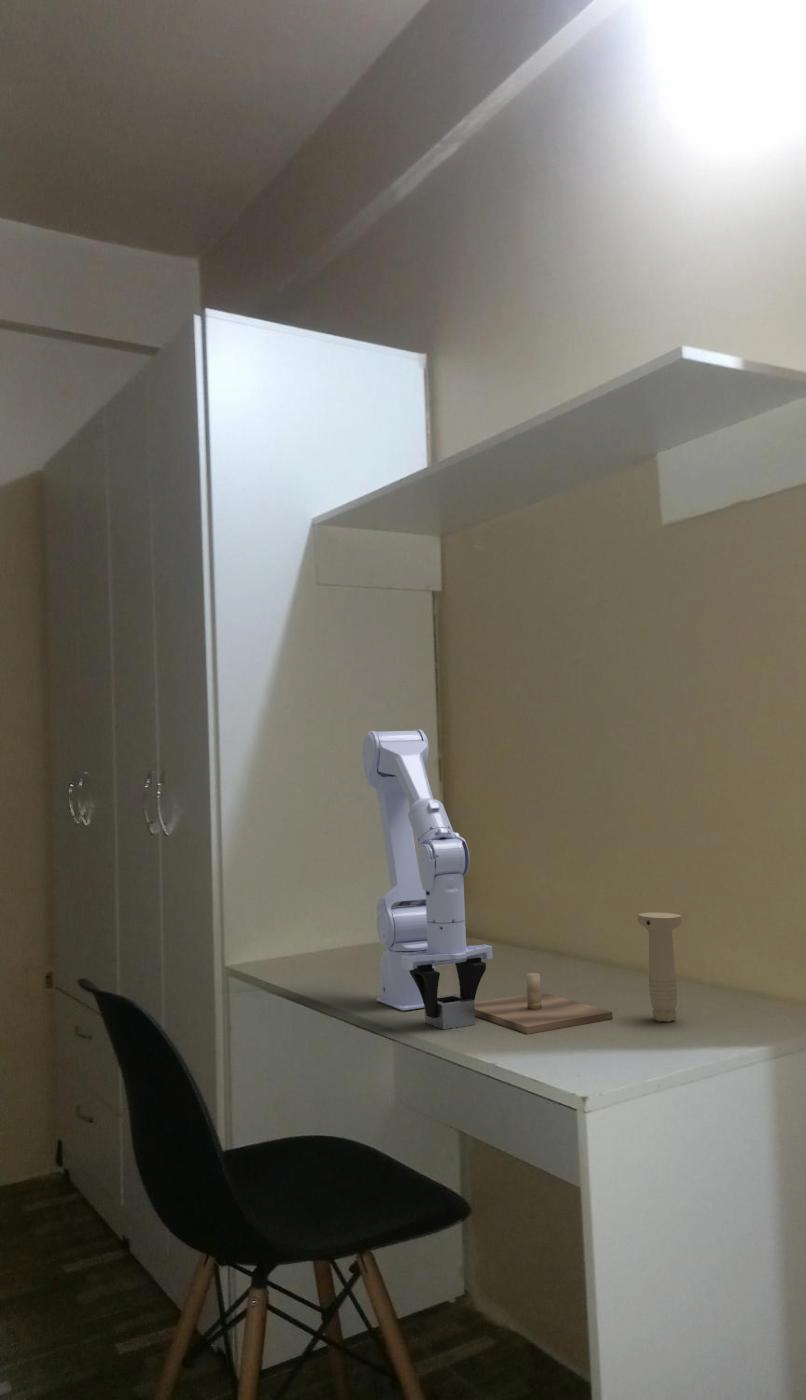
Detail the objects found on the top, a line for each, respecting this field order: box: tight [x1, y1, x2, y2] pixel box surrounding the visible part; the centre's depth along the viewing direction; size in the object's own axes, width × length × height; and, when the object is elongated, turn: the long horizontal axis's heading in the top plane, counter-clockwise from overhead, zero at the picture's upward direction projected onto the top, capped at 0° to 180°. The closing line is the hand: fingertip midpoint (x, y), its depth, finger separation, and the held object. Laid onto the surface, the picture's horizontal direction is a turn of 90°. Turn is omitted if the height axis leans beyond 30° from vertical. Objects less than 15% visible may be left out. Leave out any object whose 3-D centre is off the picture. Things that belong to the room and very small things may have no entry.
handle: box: [637, 911, 683, 1023], centre depth 162 cm, size 5×6×15 cm
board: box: [474, 972, 613, 1035], centre depth 168 cm, size 18×15×6 cm
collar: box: [423, 993, 476, 1030], centre depth 164 cm, size 5×5×4 cm
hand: (449, 1013), depth 164 cm, fingers closed on collar, 5 cm apart
